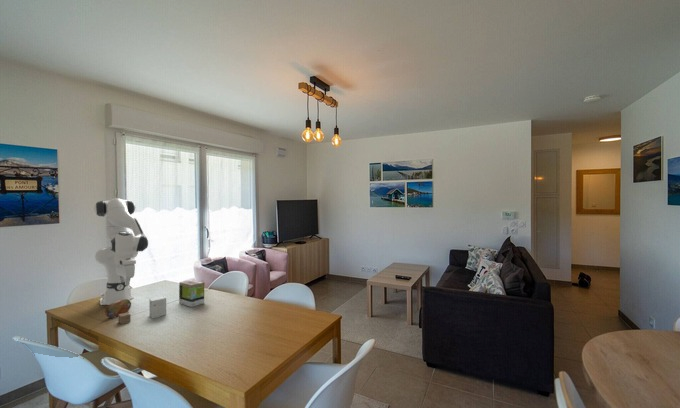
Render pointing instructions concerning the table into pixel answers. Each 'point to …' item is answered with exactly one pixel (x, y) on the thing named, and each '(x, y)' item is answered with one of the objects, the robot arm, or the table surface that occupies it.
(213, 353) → the table surface
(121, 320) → the walnut cube
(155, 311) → the small box
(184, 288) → the tea box
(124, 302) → the tin
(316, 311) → the table surface
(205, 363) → the table surface
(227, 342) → the table surface
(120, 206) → the robot arm
